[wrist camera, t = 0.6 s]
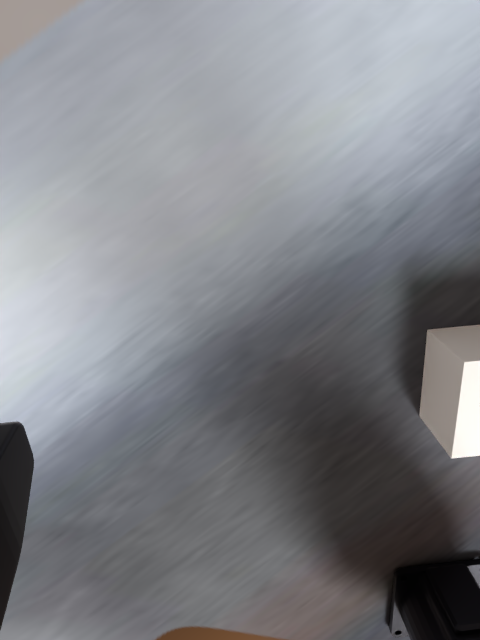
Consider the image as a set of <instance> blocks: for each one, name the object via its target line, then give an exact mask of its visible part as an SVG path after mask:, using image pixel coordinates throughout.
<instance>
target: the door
mask: <svg viewBox="0 0 480 640" xmlns="http://www.w3.org/2000/svg"><path fill="white" fill-rule="evenodd" d="M419 416H420V418H421V419H422V420H423V422H424V423H425V424H426V426H427V427H428V428H429V430H430V431H431V432H432V434H433V435H434V436H435V437H436V439H437V440H438V441H439V443H440V444H441V445H442V447H443V448H444V449H445V451H446V452H447V453H448V455H449V456H450V457H451V459H452V458H461V457H470V456H479V455H480V325H470V326H460V327H450V328H439V329H429V330H427V340H426V350H425V361H424V371H423V382H422V392H421V403H420V414H419Z"/></svg>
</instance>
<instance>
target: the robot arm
mask: <svg viewBox="0 0 480 640" xmlns="http://www.w3.org/2000/svg"><path fill="white" fill-rule="evenodd" d="M33 468H34V458H33V453H32V450H31V447H30V444H29V441H28V438H27V435H26V432H25V429H24V426H23V425H22V424H21V423H20V422H7V423H0V630H1V626H2V622H3V619H4V615H5V611H6V607H7V603H8V600H9V596H10V592H11V588H12V585H13V581H14V577H15V573H16V570H17V566H18V562H19V557H20V553H21V548H22V543H23V537H24V530H25V523H26V516H27V509H28V503H29V496H30V489H31V482H32V475H33ZM389 629H390V632H391V635H392V636H393V637H404V636H409V637H410V639H411V640H480V559H476V560H467V561H458V562H450V563H441V564H432V565H424V566H415V567H406V568H400V569H398V570H396V571H395V573H394V581H393V592H392V603H391V614H390V625H389Z"/></svg>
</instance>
